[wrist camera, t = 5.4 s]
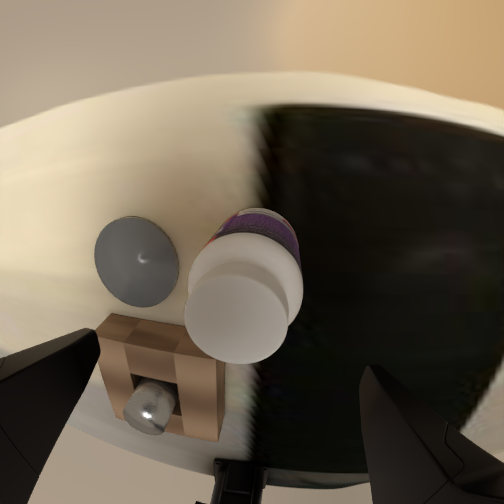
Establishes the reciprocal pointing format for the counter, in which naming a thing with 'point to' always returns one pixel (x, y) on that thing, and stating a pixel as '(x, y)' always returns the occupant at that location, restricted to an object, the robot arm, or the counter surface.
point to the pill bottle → (245, 288)
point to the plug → (151, 405)
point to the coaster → (136, 261)
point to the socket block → (163, 372)
